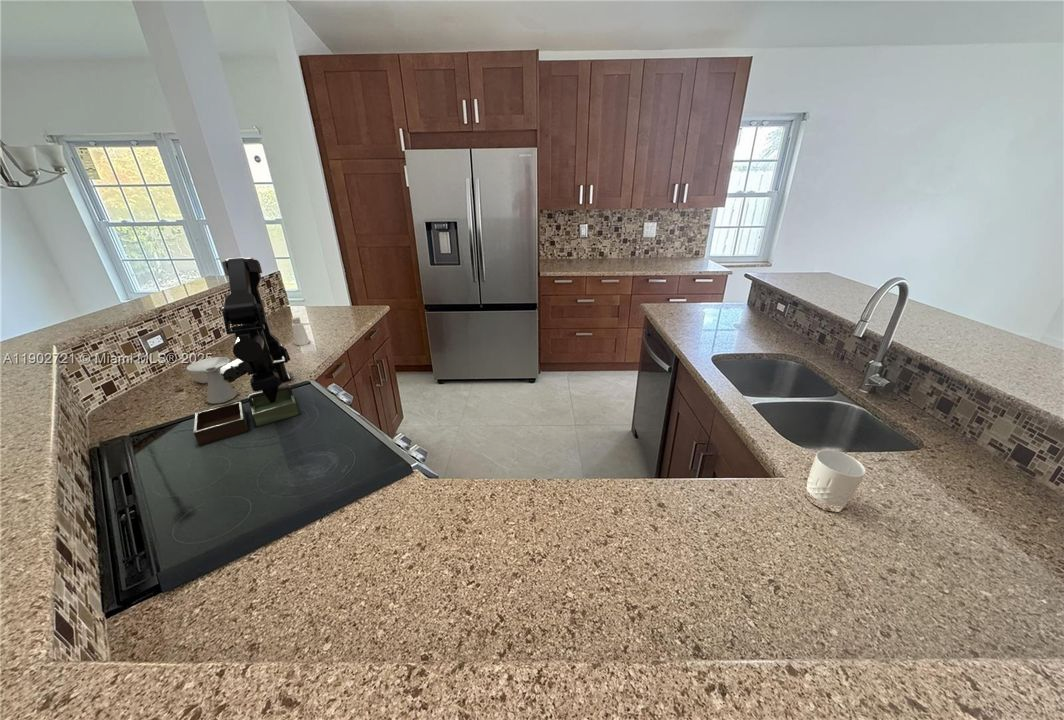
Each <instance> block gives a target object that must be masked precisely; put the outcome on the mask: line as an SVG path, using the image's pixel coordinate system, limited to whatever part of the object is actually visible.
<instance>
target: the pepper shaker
mask: <svg viewBox="0 0 1064 720" xmlns="http://www.w3.org/2000/svg"><path fill="white" fill-rule="evenodd" d="M291 321H292V324H291V328H292V334H293V335H292V336H293V341H294V345H295V346H305V345H307V344H309V343H310V339H309V338H310V337H309V336H308V334H307V331H306V328H305V325H304V323H303V322H301V317H300V316H293V317H291Z"/></svg>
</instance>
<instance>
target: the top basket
mask: <svg viewBox="0 0 1064 720" xmlns="http://www.w3.org/2000/svg"><path fill="white" fill-rule="evenodd" d="M247 400H248V404H249V405H250V409H251V413H252V417H253V420H254V423H255V425H256V427H257V428H258V427H261V426H264V425H268V424H272V423H274V422H278V421H282V420H286V419H288V418H292V417H295V416H298V415H300V411H299V409H298V405H297V402H296V400H295V397H294V392H293V390H292V386H290V385H289V384H286V385H283V386H282V385H281V386H279V387H278V391H277V396H276V401H275V402H273V403H270V401H269V400H268V398H267V397H266V395H265V394H264V393H263V391H258V392H255V393H251V394H248V396H247Z"/></svg>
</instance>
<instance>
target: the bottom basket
mask: <svg viewBox="0 0 1064 720" xmlns="http://www.w3.org/2000/svg"><path fill="white" fill-rule="evenodd" d="M193 421H194V422H193V435H194V437H195V439H196V442H197V443H198V446H199V447H201V446H204V445H208V444H211V443H214V442H218V441H221V440H225V439H227V438H231V437H234V436H238V435H241V434H245V433H247V432H249V427H248V419H247V413H246V411H245V408H244V405H243V403H242V401H238V402H237V401H236V402H234V403H230V404H225V405H222V406H218V407H214V408H211V409H207V410H203V411H199V412H195V413H194V420H193Z"/></svg>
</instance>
